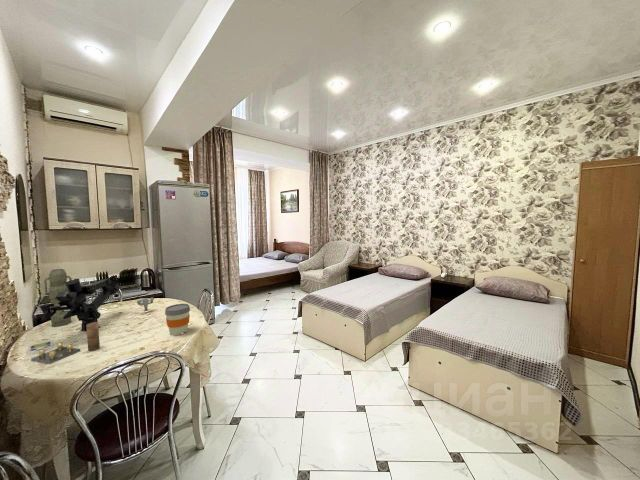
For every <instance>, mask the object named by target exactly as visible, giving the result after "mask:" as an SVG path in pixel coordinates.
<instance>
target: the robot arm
mask: <svg viewBox="0 0 640 480" xmlns="http://www.w3.org/2000/svg"><path fill="white" fill-rule="evenodd" d="M65 285H66V288H67V290H68V292H59V293H58V295H57V296H56V297H55V298H56V299H57V300H58V301H60V302H58V304H59V305H60V306H54V304H51V303H43V304H42V305H41V306H40V310H41V312H42V314H43V315H42V316H41V318H40V321H45V320H49V318H50V319H51V317H52V316H53V315H54V314H55V313H56V310H62V311H63V312H68V313H67V314H66V315H65V316H64V317H63V319H67V318H69V317H71V318H72V317H75V316H76V317H77V320H78V321H79V322H80V321H81V324H80V326H81V329H80V332H81V331H82V332H87V328H86V325H87V324H89V323H93V322H98V323H99V321H98V320H99V319H100V318H101V315H102V314H101V313H100V312H99V308H100V307H101V306H102V305H103V303H104V302H106V300H108V298H109V297H110V296H112V295H115V294H116V293H118V292H119V291H120V288H121V286H120V284H118V283H117V282H116V281H113V280H112V279H111V278H102V279H100V280H98V281H96V282H93V283H90V284H86V285H85V284H84V285H83V284H81V281H80V278H73V279H72V280H70V281H69V280H67V281H66V283H65ZM99 289H100V290H102V291H101V293H100V294H98V295H97V296H96V297H95V298H94V299H93V301H91V302H90V303H86V302H87V296H92V295H94V294H95V293H96V292H97V290H99ZM100 328H101V326H99V325H98V329H100Z"/></svg>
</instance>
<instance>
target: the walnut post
mask: <svg viewBox="0 0 640 480" xmlns="http://www.w3.org/2000/svg"><path fill="white" fill-rule="evenodd" d="M98 326H99V321H98V322H93V323H89V324H87V325H86V328H87V331H86V337H87V338H86V339H87V340H86V341H87V351H88V352H93V351H97V350H99V349H100V348H101V345H100V330H99V329H100V328H98Z"/></svg>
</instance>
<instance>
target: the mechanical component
mask: <svg viewBox="0 0 640 480" xmlns="http://www.w3.org/2000/svg"><path fill="white" fill-rule="evenodd" d="M154 299H155V298H154V297H150V299H149V298H142V299H138V300H137V301H136V304H137V305H138V306H140V307H143V308H144V312H145V311H148V307H149V305H151V304H153V303H154Z"/></svg>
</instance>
